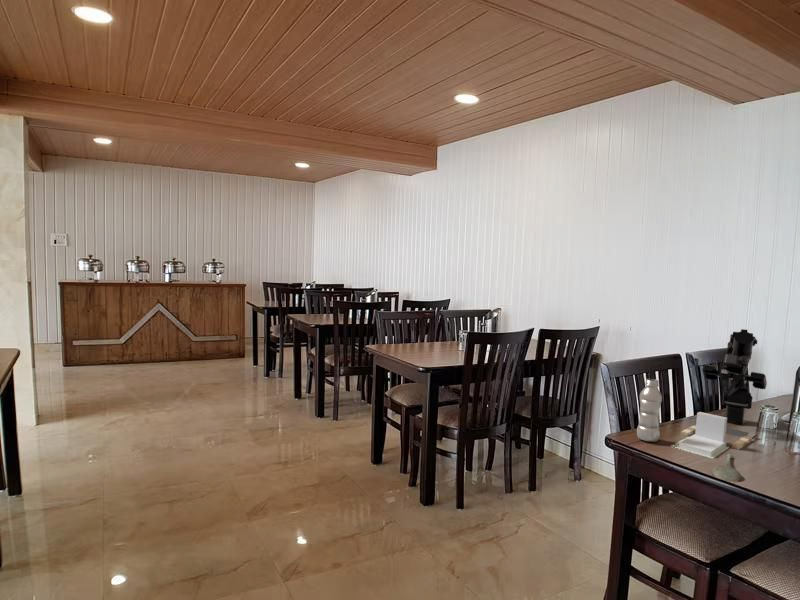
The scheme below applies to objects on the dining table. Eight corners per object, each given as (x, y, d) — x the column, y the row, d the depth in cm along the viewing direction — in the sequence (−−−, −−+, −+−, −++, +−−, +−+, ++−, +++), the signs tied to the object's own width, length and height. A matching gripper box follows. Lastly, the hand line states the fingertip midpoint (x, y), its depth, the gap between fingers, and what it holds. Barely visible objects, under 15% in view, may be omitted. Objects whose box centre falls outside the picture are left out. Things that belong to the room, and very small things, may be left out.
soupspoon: (710, 480, 138) (739, 489, 134) (712, 469, 138) (740, 477, 134) (717, 455, 156) (743, 462, 152) (719, 445, 155) (745, 451, 152)
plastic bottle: (662, 444, 162) (668, 383, 161) (641, 443, 163) (646, 381, 161) (653, 437, 169) (658, 378, 167) (632, 436, 169) (637, 377, 168)
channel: (695, 427, 183) (695, 424, 183) (751, 441, 170) (751, 437, 170) (680, 434, 173) (681, 431, 173) (738, 450, 161) (739, 446, 161)
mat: (688, 437, 171) (688, 436, 171) (729, 447, 162) (729, 447, 162) (670, 447, 161) (670, 446, 161) (712, 459, 152) (712, 458, 152)
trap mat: (705, 423, 189) (705, 422, 189) (756, 435, 177) (756, 434, 177) (699, 426, 184) (699, 425, 184) (751, 439, 172) (751, 438, 172)
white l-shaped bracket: (695, 437, 170) (697, 411, 170) (726, 445, 164) (729, 418, 163) (678, 447, 159) (681, 419, 159) (710, 456, 153) (713, 427, 152)
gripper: (706, 342, 186) (693, 375, 179) (768, 350, 172) (756, 386, 165) (711, 361, 192) (698, 394, 185) (771, 371, 178) (759, 406, 171)
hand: (726, 395), depth 176 cm, fingers closed
